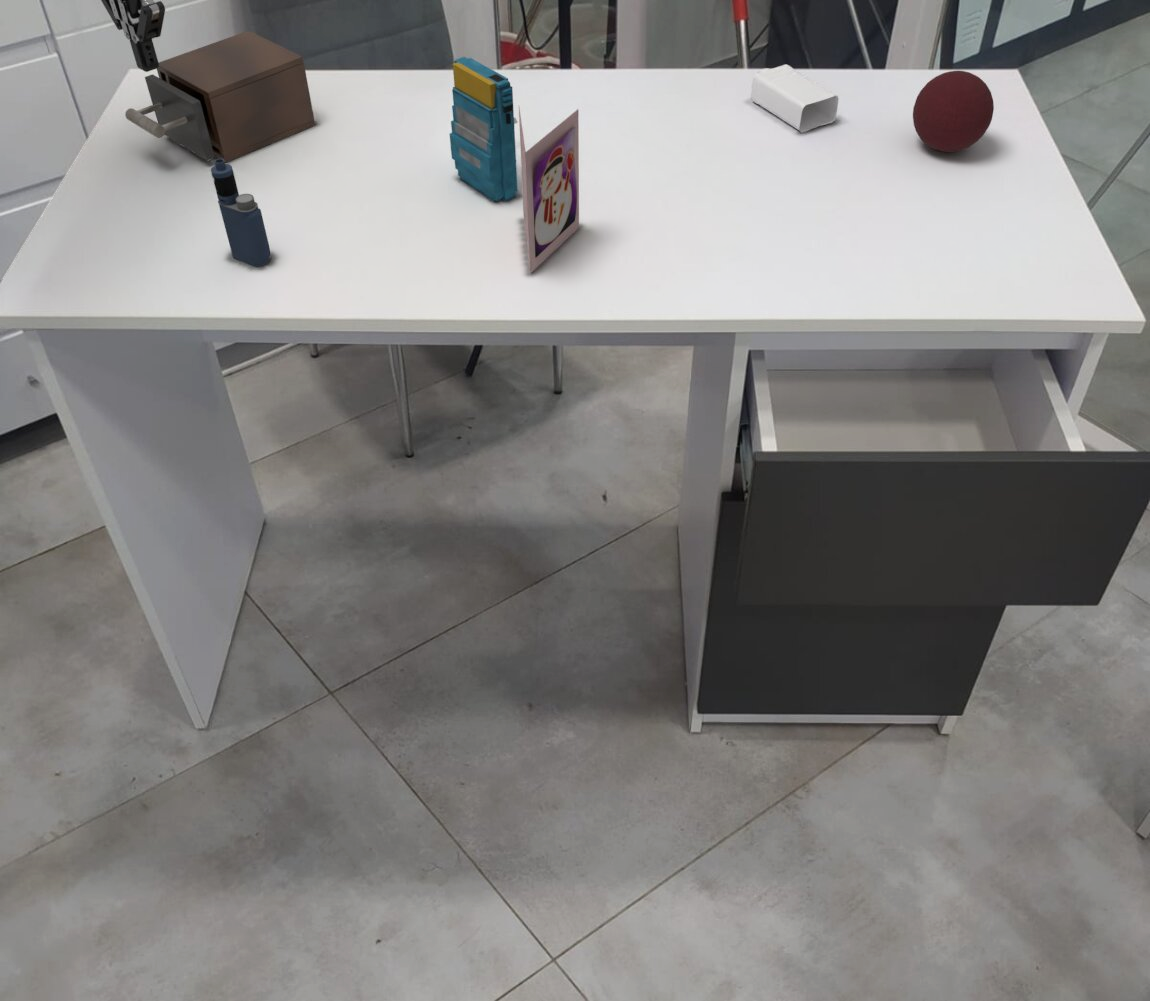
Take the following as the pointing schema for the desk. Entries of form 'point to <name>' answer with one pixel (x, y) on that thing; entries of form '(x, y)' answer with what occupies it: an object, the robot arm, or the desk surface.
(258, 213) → the vaping device
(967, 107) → the decorative ball
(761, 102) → the white rectangular box
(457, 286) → the desk surface
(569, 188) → the greeting card
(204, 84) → the cabinet
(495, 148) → the teal upright block
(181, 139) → the drawer
